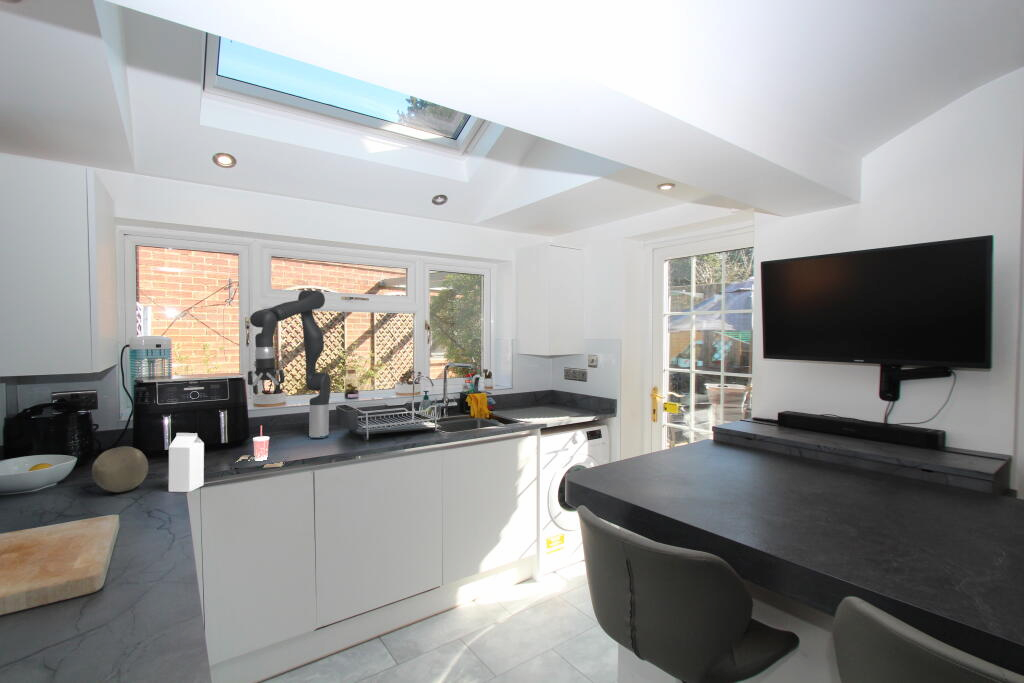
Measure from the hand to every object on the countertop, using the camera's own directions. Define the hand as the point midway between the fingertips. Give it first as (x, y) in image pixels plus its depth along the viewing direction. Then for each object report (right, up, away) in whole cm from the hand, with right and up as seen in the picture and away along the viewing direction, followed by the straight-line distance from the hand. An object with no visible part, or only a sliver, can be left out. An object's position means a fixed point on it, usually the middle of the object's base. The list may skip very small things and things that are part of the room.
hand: (266, 393), depth 208 cm
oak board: (+4, -27, -13) cm, 30 cm away
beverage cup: (+4, -26, -13) cm, 29 cm away
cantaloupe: (-21, -27, -52) cm, 62 cm away
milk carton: (-3, -27, -47) cm, 55 cm away
